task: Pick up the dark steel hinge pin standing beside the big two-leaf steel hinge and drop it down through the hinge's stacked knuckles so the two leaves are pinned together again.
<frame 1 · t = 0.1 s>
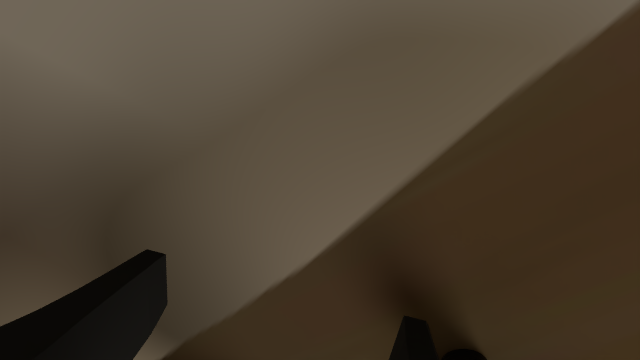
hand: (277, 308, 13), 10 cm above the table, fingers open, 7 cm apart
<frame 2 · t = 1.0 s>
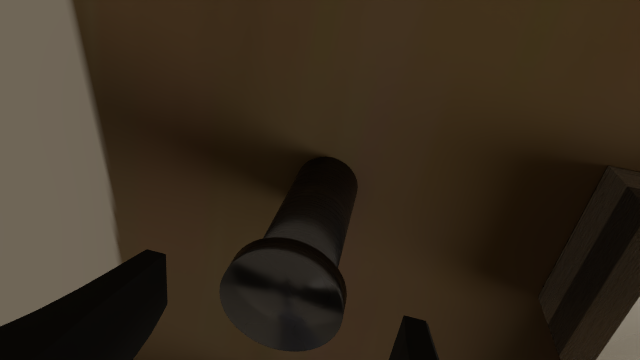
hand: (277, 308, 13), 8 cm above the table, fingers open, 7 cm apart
hinge pin: (327, 185, 20), on the table
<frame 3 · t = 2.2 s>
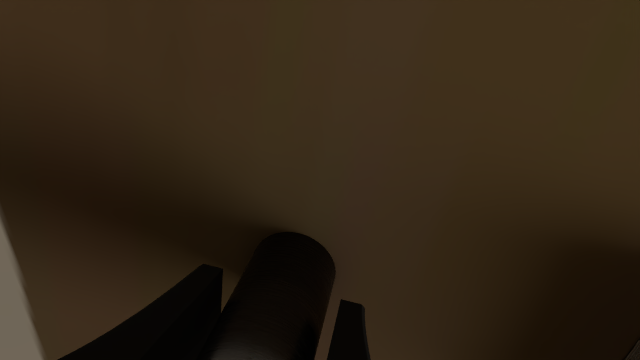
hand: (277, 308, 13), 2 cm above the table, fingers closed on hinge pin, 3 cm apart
hinge pin: (294, 267, 14), on the table, touching gripper
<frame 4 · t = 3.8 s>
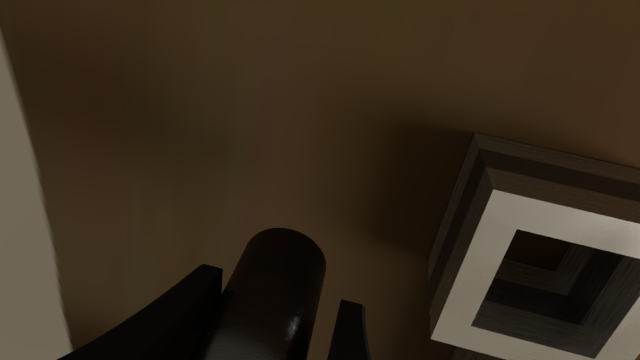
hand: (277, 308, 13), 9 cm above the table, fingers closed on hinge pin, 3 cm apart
hinge pin: (284, 262, 14), point 7 cm above the table, touching gripper
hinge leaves: (525, 220, 19), on the table
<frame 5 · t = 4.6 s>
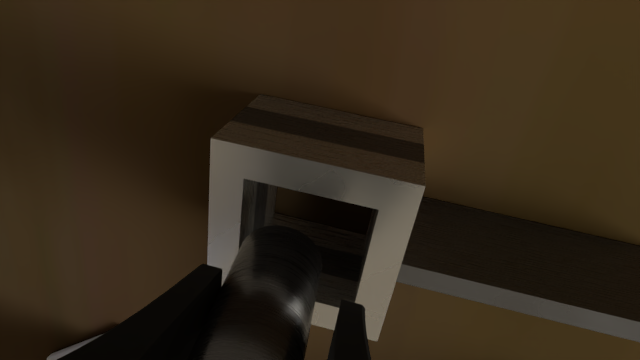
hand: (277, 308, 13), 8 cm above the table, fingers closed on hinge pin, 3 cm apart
hinge pin: (280, 260, 14), point 6 cm above the table, touching gripper
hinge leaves: (327, 182, 20), on the table
when the fingers open (6 cm above the table, at t = 5.3 s): hinge pin drops 4 cm, resting in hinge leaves.
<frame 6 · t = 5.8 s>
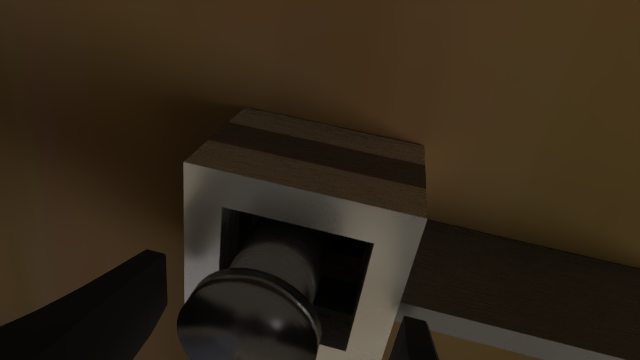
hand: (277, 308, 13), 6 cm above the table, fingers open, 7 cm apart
hinge pin: (309, 199, 18), resting in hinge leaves
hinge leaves: (319, 203, 18), on the table
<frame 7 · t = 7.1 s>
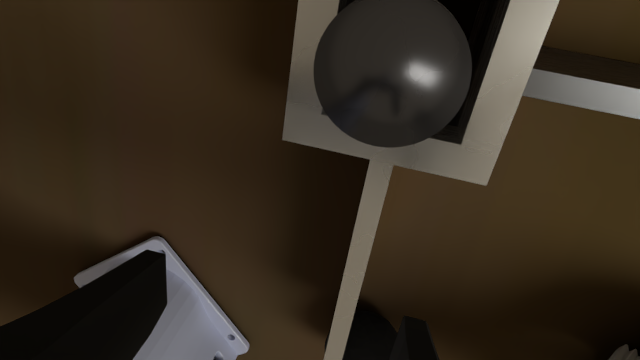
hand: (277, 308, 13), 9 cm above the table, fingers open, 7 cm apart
mechanical valve: (524, 347, 24), on the table
hinge pin: (399, 27, 17), resting in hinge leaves
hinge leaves: (410, 31, 17), on the table
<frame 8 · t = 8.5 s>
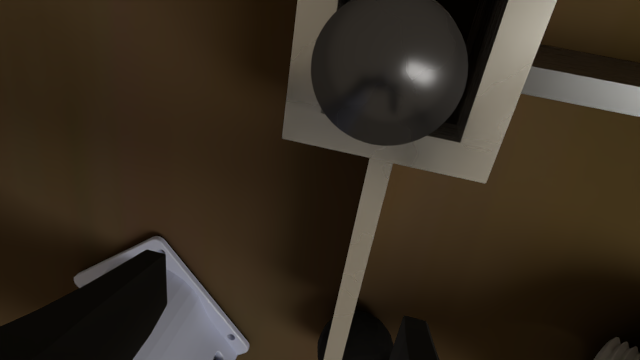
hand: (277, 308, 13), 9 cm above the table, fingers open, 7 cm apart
mechanical valve: (517, 342, 24), on the table
hinge pin: (398, 26, 17), resting in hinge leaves
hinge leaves: (409, 30, 17), on the table
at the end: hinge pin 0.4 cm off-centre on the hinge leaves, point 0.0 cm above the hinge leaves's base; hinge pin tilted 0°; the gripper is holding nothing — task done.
